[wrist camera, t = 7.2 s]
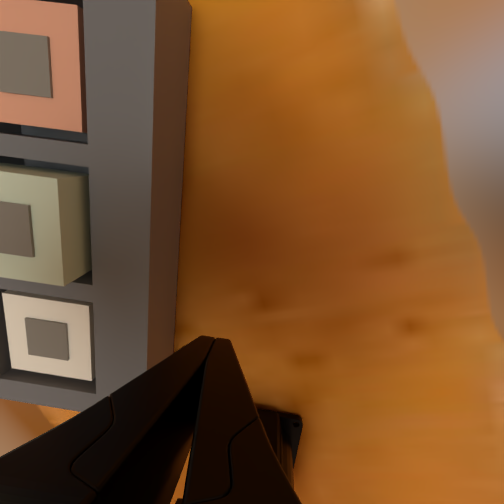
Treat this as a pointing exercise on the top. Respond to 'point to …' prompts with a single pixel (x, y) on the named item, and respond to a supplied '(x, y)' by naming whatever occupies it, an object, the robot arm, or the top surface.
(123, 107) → the gray keypad housing
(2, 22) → the terracotta key
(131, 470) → the robot arm
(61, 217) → the sage key
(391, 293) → the top surface
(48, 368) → the cream key
